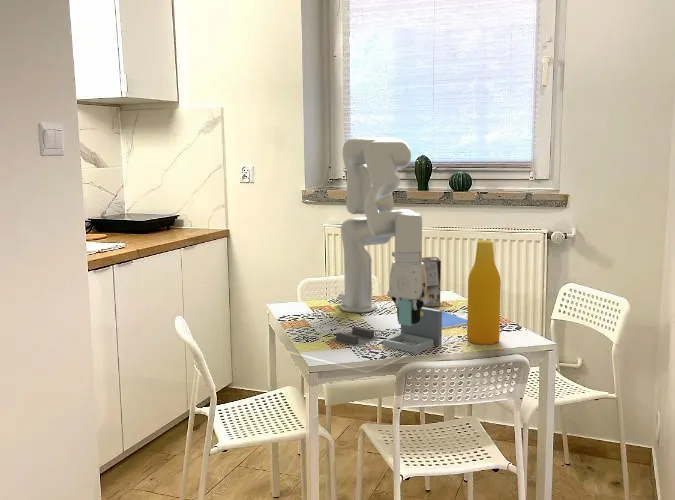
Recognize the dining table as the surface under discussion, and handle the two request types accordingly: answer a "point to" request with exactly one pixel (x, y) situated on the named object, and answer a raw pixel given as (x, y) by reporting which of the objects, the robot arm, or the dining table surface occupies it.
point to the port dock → (419, 332)
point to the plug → (405, 312)
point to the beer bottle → (484, 297)
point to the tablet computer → (452, 321)
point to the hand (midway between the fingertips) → (408, 321)
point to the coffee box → (433, 279)
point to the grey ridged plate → (356, 337)
